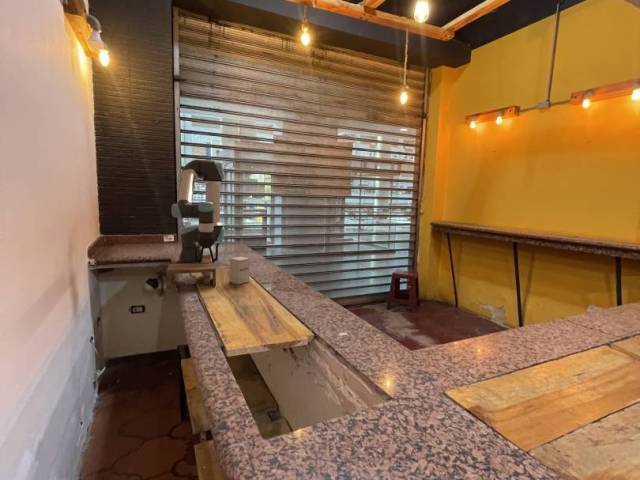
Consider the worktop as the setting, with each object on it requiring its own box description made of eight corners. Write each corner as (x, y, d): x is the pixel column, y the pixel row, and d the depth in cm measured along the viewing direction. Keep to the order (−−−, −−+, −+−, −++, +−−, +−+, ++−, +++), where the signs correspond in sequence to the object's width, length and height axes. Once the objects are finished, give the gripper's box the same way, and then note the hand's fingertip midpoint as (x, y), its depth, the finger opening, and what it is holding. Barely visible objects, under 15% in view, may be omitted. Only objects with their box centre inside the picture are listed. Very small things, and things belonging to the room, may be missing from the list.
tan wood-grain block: (202, 275, 182) (202, 254, 180) (210, 275, 183) (210, 254, 181) (202, 284, 166) (202, 261, 164) (211, 284, 167) (211, 260, 165)
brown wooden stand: (169, 281, 169) (169, 264, 168) (214, 279, 176) (214, 262, 175) (166, 289, 156) (166, 270, 155) (215, 286, 163) (215, 268, 162)
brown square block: (184, 281, 170) (184, 276, 169) (195, 281, 172) (195, 275, 171) (185, 284, 165) (185, 278, 165) (196, 283, 167) (195, 278, 167)
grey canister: (238, 284, 168) (238, 260, 166) (229, 281, 172) (229, 258, 170) (249, 281, 174) (249, 258, 172) (240, 279, 178) (240, 256, 176)
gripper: (188, 232, 170) (189, 276, 174) (223, 231, 176) (223, 274, 180) (189, 230, 177) (190, 272, 181) (222, 230, 183) (222, 271, 187)
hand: (206, 273), depth 180 cm, fingers open, 4 cm apart
